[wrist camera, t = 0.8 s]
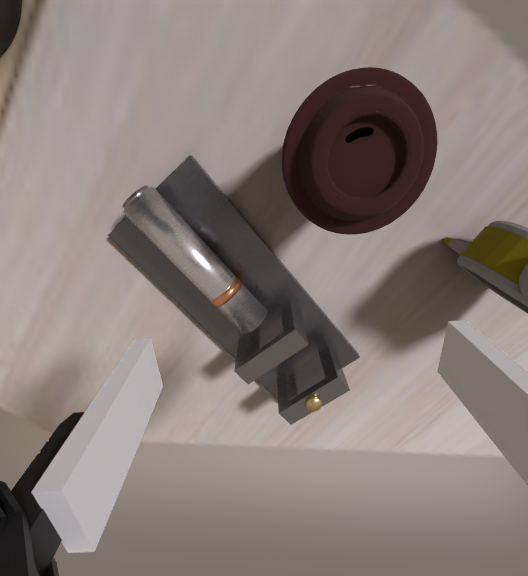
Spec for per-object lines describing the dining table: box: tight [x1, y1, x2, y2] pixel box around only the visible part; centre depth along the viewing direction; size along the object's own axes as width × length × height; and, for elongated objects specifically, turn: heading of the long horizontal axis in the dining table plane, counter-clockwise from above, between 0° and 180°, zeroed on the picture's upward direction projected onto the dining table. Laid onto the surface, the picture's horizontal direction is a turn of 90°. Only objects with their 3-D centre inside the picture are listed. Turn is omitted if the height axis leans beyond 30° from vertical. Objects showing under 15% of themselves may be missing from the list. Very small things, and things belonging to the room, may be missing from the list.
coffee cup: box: [282, 67, 437, 234], centre depth 25 cm, size 10×10×15 cm
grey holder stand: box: [108, 156, 360, 424], centre depth 35 cm, size 32×13×8 cm, turn 40°
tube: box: [123, 186, 267, 334], centre depth 33 cm, size 18×4×4 cm, turn 39°
